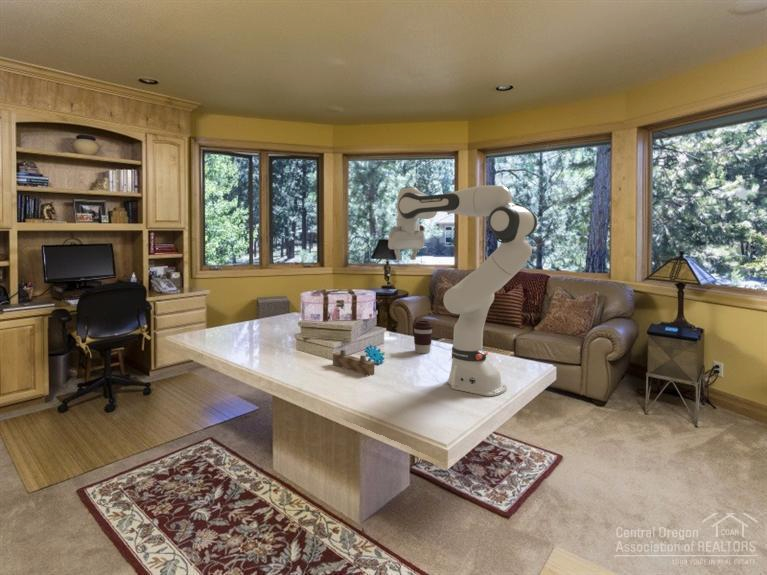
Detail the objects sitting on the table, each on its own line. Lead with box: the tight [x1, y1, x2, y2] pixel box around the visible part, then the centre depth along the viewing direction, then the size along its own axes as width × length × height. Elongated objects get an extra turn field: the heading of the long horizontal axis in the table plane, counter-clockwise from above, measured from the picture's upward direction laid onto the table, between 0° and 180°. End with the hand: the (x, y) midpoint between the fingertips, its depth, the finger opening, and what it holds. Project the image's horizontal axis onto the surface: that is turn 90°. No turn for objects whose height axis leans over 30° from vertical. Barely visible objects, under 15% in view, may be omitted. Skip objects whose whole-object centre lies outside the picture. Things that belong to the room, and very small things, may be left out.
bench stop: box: [332, 349, 375, 377], centre depth 189 cm, size 22×3×7 cm, turn 48°
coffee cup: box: [412, 320, 434, 355], centre depth 218 cm, size 10×10×15 cm
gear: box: [364, 344, 386, 365], centre depth 200 cm, size 11×6×10 cm
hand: (406, 259), depth 189 cm, fingers open, 8 cm apart
